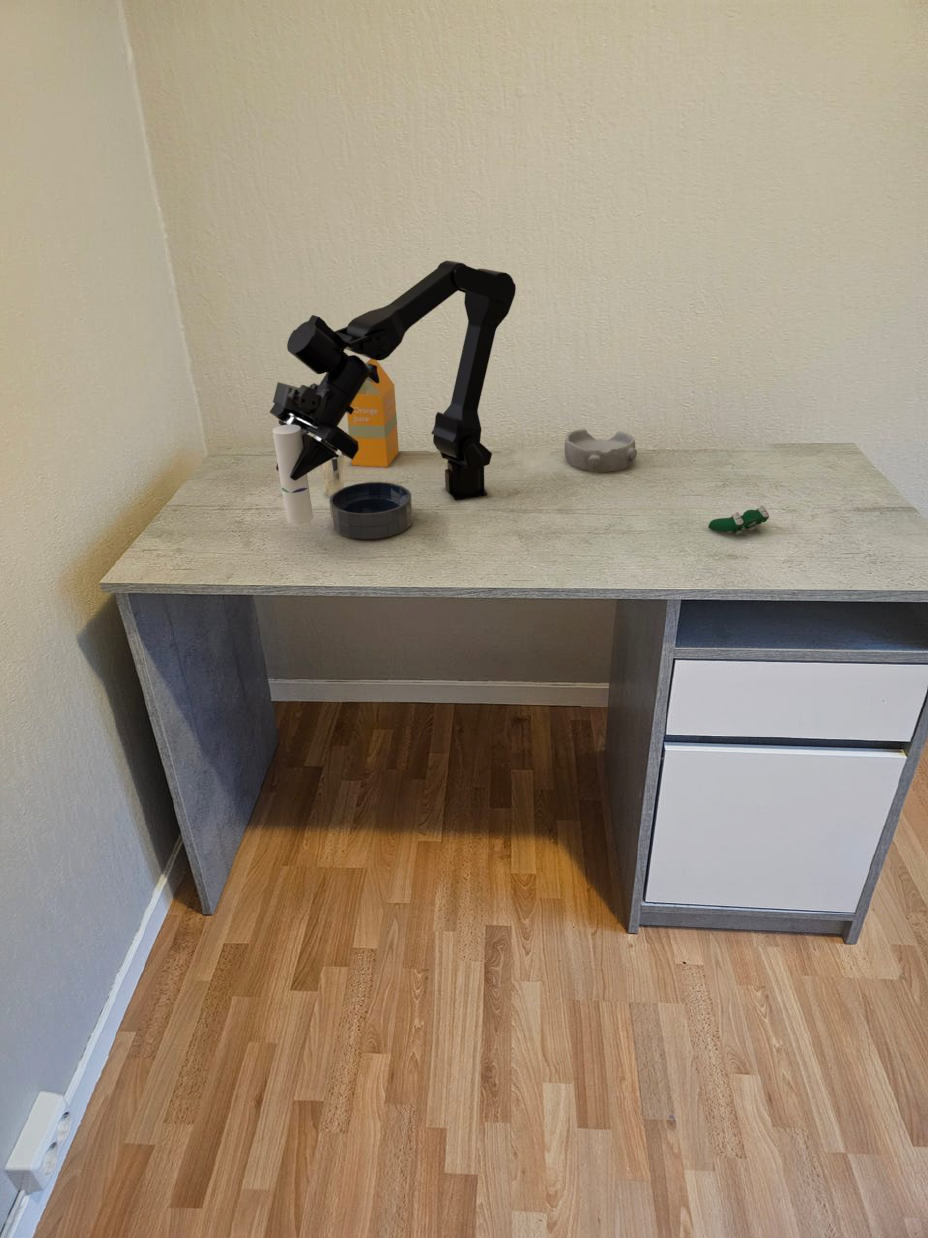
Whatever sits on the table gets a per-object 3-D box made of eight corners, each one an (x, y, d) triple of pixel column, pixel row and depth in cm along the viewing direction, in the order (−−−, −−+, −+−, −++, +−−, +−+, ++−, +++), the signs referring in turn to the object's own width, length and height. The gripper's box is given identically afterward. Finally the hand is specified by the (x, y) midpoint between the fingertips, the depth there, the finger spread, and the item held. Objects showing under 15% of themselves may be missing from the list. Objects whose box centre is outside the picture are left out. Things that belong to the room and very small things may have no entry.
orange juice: (399, 451, 177) (393, 356, 166) (387, 467, 170) (380, 367, 159) (364, 450, 178) (355, 354, 168) (351, 465, 171) (341, 366, 161)
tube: (292, 511, 139) (278, 424, 131) (316, 513, 138) (304, 424, 130) (282, 522, 135) (268, 433, 127) (307, 524, 134) (294, 434, 126)
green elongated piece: (713, 544, 141) (735, 531, 135) (705, 523, 141) (726, 509, 136) (754, 532, 144) (777, 518, 139) (746, 512, 145) (768, 498, 139)
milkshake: (347, 500, 156) (342, 448, 151) (320, 498, 157) (314, 447, 152) (355, 490, 160) (350, 440, 154) (328, 489, 161) (322, 438, 155)
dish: (558, 451, 175) (559, 428, 172) (622, 447, 176) (624, 424, 173) (573, 477, 162) (574, 453, 160) (642, 473, 164) (645, 448, 161)
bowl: (401, 502, 154) (399, 477, 152) (421, 533, 143) (420, 506, 140) (326, 514, 151) (323, 488, 148) (341, 547, 139) (338, 519, 137)
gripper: (271, 349, 132) (219, 434, 132) (332, 373, 119) (275, 466, 119) (321, 389, 140) (272, 468, 140) (383, 414, 128) (329, 501, 128)
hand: (285, 474), depth 132 cm, fingers closed on tube, 4 cm apart
